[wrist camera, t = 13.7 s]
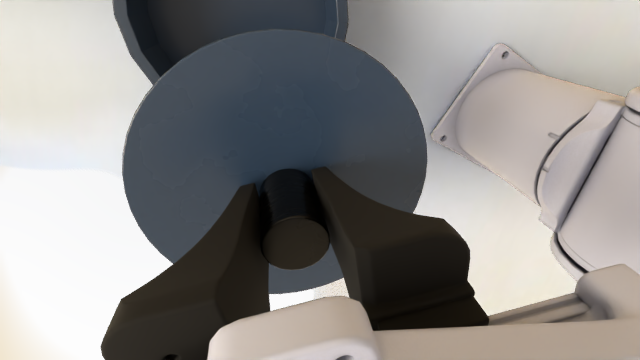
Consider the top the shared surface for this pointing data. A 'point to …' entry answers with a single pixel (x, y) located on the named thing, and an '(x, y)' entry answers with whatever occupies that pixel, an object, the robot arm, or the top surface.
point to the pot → (214, 24)
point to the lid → (271, 145)
